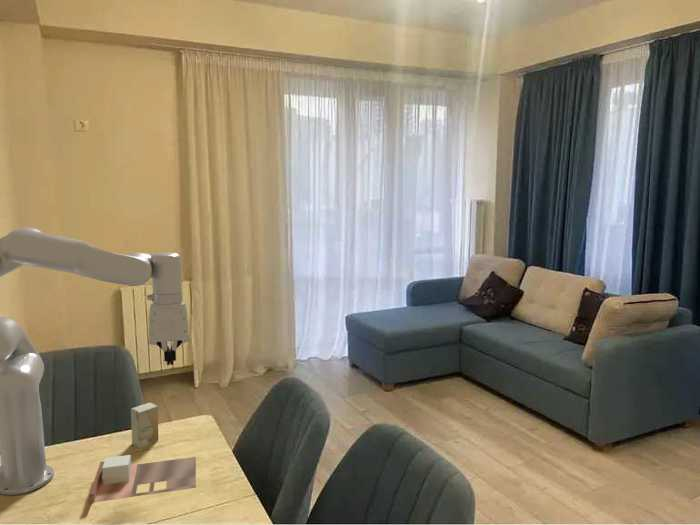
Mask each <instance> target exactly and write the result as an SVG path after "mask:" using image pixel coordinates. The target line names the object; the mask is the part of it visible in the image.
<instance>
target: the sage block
mask: <svg viewBox="0 0 700 525" xmlns="http://www.w3.org/2000/svg"><path fill="white" fill-rule="evenodd" d="M131 457H132V456H131V454H127V455H119V456H111V457H110V456H109V457H105V459H104V461H103V462H104V464H103V467H102V471H103V485H105V484H113V483H120V482H127V481H129V480H130V475H131V465H132V458H131Z"/></svg>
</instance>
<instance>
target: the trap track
mask: <svg viewBox="0 0 700 525" xmlns="http://www.w3.org/2000/svg"><path fill="white" fill-rule="evenodd" d="M196 457H197V456H192V457H183V458H175V459H169V460H160V461H154V462H153V461H151V462H146V463H138V464H131V475H130V480H129V481H127V482H120V483H113V484H105V485H103V471H102V467H103V464H104V461H100V463H99V465H98V469H97V471H96V474H95V477H94V480H93V483H92V485H91V489H90V491H89V509H90V508H91V507H92V503H97V502H103V501H105V502H106V501H110V500H111V501H113V500H118V499H124V498H131V497H132V498H133V497H140V496H145V495H153V494H154V495H155V494H160V493H167V492H173V491H180V490H187V489H193V488H197V478H196V477H197V469H196V468H197V466H196V465H197V460H196V459H197V458H196ZM160 482H166V488H165V489H159V490H158V489H157V490H154V489H155V483H160ZM143 484H149V490H148V491H145V492H139V493H137V491H138V490H137V489H138V485H143Z"/></svg>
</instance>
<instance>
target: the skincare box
mask: <svg viewBox="0 0 700 525" xmlns="http://www.w3.org/2000/svg"><path fill="white" fill-rule="evenodd" d="M158 409H159V408H158V405H156V404H154V403H152V402H147V403H144V404H141V405H138V406H135V407H132V408H130V415H131V416H130V417H131V418H130V420H131V424H130V425H131V444H132V445H133V446H135V447H136V448H138V449H142V448H144V447H147V446H149V445H151V444H154V443H156V442H158V441H159V413H158V412H159V410H158Z"/></svg>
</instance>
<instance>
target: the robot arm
mask: <svg viewBox="0 0 700 525" xmlns="http://www.w3.org/2000/svg"><path fill="white" fill-rule="evenodd" d="M22 266H30V267H34V268H42V269H46V270H52V271H59V272H65V273H69V274H74V275H78V276H80V277H84V278H89V279H93V280H95V281H96V280H97V281H101V282H105V283H110V284H116V285H122V286H128V287H140V286H143V285H144V284H146V283H147V282H148V281H149V280H150V279H151V283H152V284H151V286H152V293H151V294H147V295H146V296H147V297H146V298H147V299H146V300H147V301H151V302H152V303H150V304H149V305H150V306H149V311H148V345H153V346H157V347H159V348H160V349H161V350H162V351H163V362H166V365H167V366H173V365H174V362H176V361H177V352H176V351H177V349H178V348H179V346H181V345H182V344H186V343H189V342H190V341H191V336H190V334H189V332H190V331H189V329H190V328H189V317H188V316H189V314H188V310H187V305H186V304H187V303H186V302H185V301H183V278H182V277H183V275H182V272H183V271H182V258H181V255H180V254H179V253H176V252H158V253H149V252H138V251H137V252H129V253H127V254H121V253H117V252H112V251H107V250H103V249H102V248H101V249H100V248H98V247H95V246H94V245H92V244H90V243H88V242H86V241H83V240H80V239H77V238H71V237H65V236H60V235H55V234H50V233H45V232H42V231H41V230H39V229H37V228H35V227H31V226H23V227H19V228H16V229H14V230H11V231H10V232H9V233H8V234H6V235H5V236H2V237H0V278H1V277H3V276H5V275H7V274H9V273H11V272H13V271H15V270H17V269H18V268H20V267H22ZM168 342H172V343H171V346H170V347H169V345H168ZM44 372H45V364H44V362H43V359H42V356H41V355H40V353H39V352H38V350H37V348H36V347H35V346H34V344H33V342H32V341H31V339H30V338H29V336H28V334H27V333H26V332H25V330H24V328H23V327H22V326H21V324H19V323H18V322H17V321H16V320H14V319H11V318H9V317H3V316H0V464H1V466H0V494H1V495H6V496H7V495H8V496H13V495H15V496H16V495H22V494H27V493H29V492H32V491H35V490H38V489H39V488H42V487H43V486H45V485H46V484H48V483H49V482H50V481H51V480H52V479H53V477H54V474H55V473H54V468H53V467H52V466H50V465H48V464H47V460H46V459H47V458H46V449H45V448H46V447H45V446H46V445H45V435H44V423H43V421H44V420H43V414H42V412H43V411H42V404H41V397H40V382H41V381H42V378H43V375H44Z"/></svg>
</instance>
